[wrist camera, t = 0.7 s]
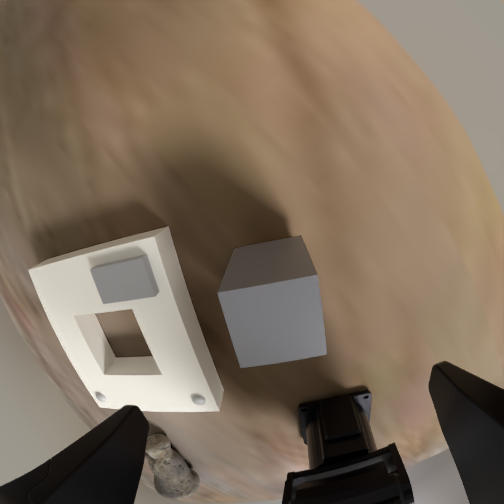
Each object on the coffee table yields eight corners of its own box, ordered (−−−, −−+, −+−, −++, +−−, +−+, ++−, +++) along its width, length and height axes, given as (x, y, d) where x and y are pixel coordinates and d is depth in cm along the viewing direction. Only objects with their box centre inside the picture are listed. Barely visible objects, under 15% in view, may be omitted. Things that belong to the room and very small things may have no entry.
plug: (309, 289, 19) (326, 354, 12) (250, 299, 19) (240, 368, 13) (299, 231, 18) (317, 274, 11) (236, 243, 18) (217, 292, 11)
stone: (147, 419, 26) (110, 464, 22) (168, 447, 22) (126, 495, 18) (203, 447, 30) (170, 485, 27) (228, 469, 26) (191, 510, 23)
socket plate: (224, 389, 22) (218, 417, 19) (109, 390, 23) (96, 412, 20) (168, 226, 18) (149, 239, 15) (46, 259, 19) (22, 273, 16)
